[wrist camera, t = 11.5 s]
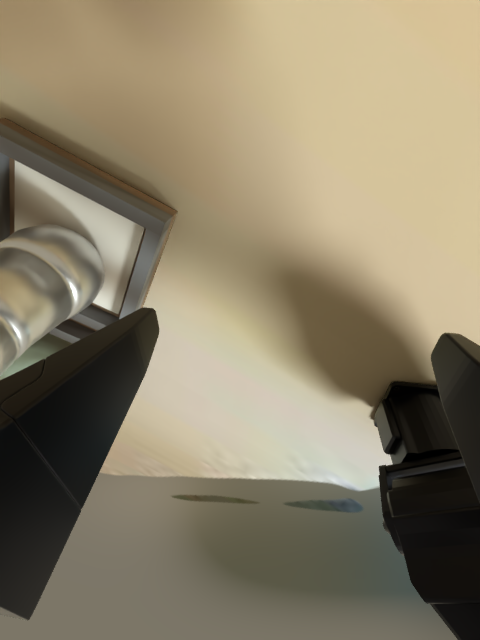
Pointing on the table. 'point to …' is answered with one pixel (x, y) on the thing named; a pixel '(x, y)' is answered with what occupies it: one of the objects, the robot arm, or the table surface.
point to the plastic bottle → (43, 284)
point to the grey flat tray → (81, 228)
